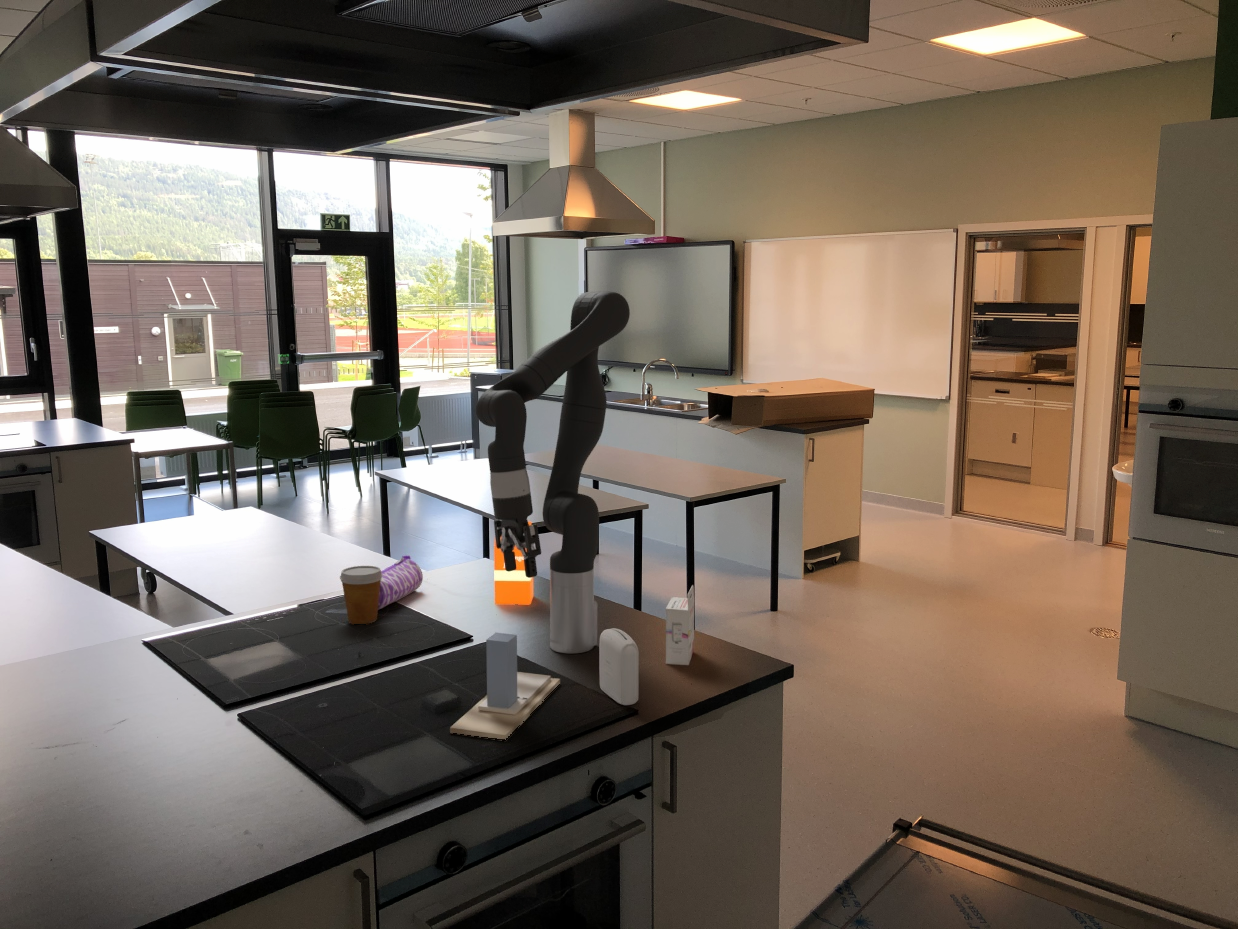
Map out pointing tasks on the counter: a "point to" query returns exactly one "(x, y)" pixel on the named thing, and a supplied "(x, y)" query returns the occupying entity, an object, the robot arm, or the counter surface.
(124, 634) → the counter surface
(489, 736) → the perforated strip board
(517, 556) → the orange juice
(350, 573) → the disposable coffee cup
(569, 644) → the robot arm
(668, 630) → the ink cartridge box
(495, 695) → the panel
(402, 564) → the pencil case
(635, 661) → the photo printer
